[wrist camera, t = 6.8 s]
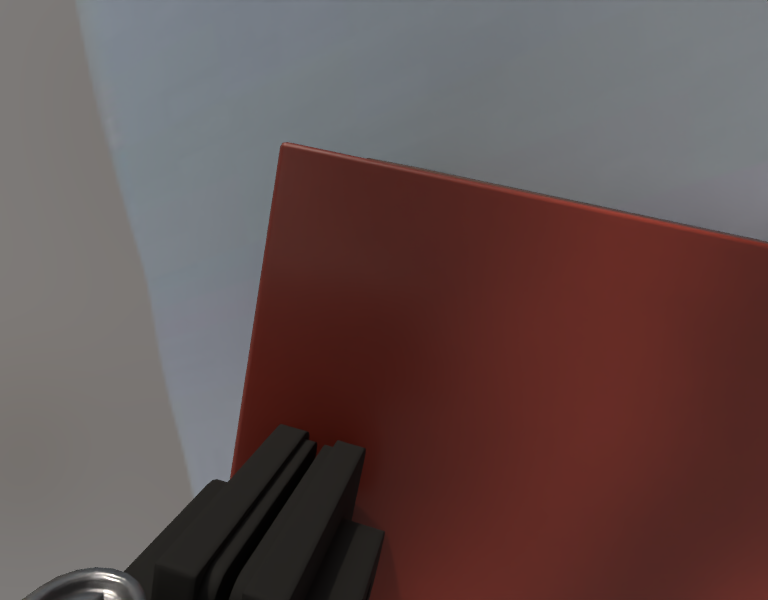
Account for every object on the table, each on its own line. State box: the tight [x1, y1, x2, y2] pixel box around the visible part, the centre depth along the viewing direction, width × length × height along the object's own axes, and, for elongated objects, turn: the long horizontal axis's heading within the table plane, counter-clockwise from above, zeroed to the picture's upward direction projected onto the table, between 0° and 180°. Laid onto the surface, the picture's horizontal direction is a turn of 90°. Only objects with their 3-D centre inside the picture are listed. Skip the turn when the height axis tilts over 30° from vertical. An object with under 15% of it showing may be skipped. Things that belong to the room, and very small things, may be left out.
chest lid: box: [230, 142, 768, 600], centre depth 11 cm, size 16×13×1 cm
